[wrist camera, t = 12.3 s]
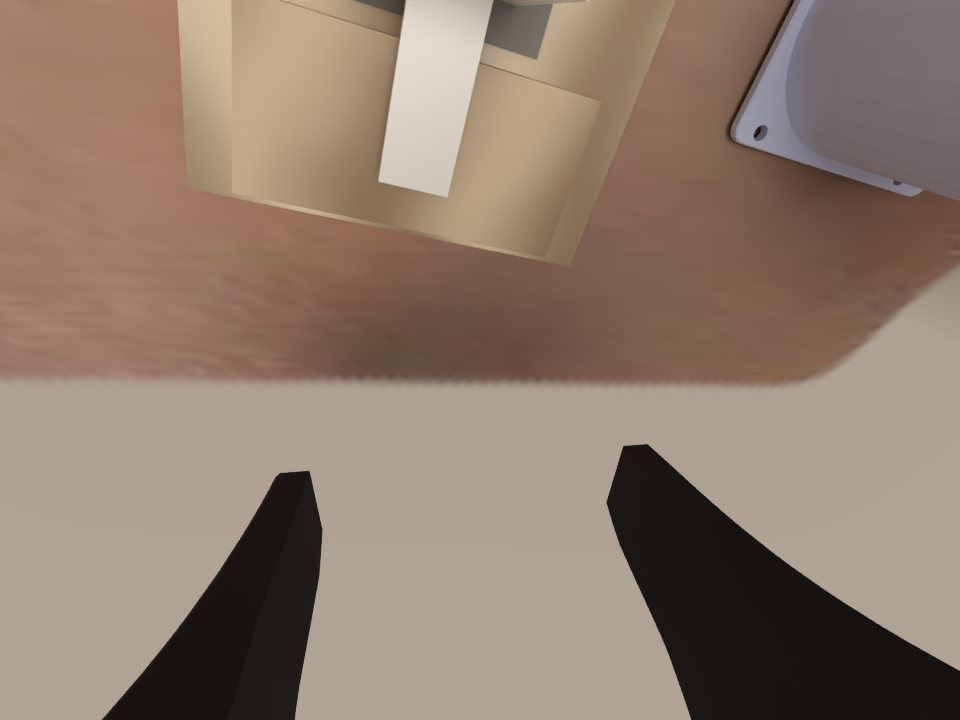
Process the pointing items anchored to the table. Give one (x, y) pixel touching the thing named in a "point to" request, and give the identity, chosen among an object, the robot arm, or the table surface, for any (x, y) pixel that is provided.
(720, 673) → the robot arm
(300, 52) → the display stand
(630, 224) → the table surface
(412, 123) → the cube skewered by beam
